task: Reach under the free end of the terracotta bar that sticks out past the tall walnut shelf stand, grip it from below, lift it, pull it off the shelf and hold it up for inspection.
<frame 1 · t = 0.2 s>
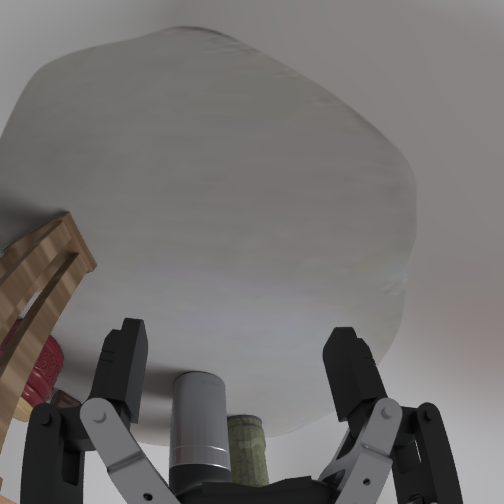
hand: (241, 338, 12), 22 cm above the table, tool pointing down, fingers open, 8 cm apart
canister: (37, 343, 40), on the table
walnut shelf stand: (48, 254, 32), on the table
box: (67, 398, 49), on the table
thermos: (242, 422, 56), on the table
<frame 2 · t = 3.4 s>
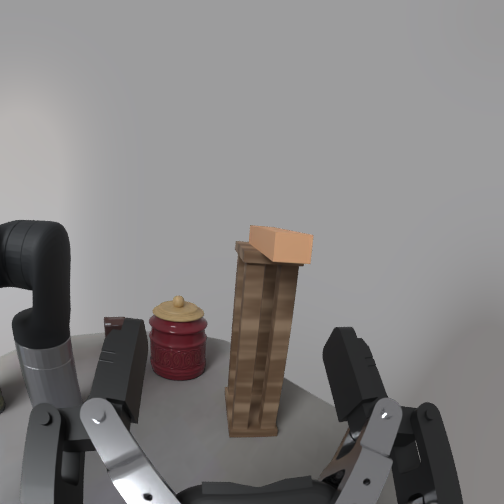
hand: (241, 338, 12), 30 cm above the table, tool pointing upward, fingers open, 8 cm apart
canister: (178, 368, 62), on the table
walnut shelf stand: (248, 413, 48), on the table
box: (117, 347, 67), on the table
terracotta bar: (272, 251, 39), point 31 cm above the table, touching walnut shelf stand
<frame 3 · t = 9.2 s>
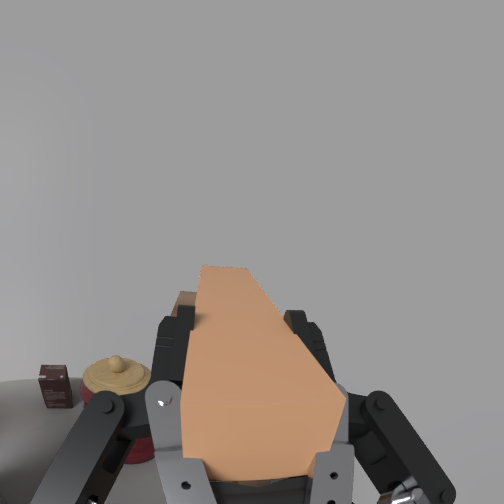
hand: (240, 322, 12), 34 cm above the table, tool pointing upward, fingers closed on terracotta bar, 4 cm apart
canister: (128, 441, 38), on the table
box: (59, 401, 43), on the table
terracotta bar: (229, 345, 16), point 31 cm above the table, touching gripper, walnut shelf stand
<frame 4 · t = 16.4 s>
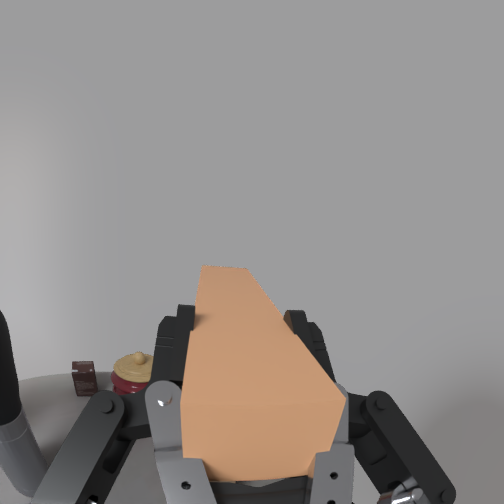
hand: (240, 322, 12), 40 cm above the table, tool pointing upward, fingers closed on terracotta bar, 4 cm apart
canister: (145, 419, 54), on the table
box: (87, 390, 58), on the table
terracotta bar: (229, 345, 16), point 38 cm above the table, touching gripper
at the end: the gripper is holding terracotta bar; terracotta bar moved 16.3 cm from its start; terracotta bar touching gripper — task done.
